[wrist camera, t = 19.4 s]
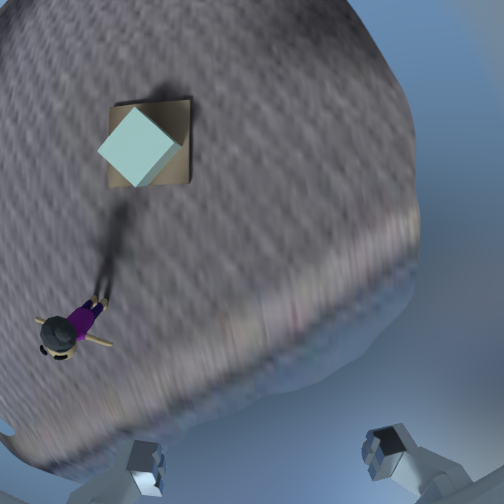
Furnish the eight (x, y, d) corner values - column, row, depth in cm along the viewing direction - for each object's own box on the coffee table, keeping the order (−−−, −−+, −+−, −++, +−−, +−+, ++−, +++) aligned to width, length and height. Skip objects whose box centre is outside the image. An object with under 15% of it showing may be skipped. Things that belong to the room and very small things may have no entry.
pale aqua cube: (147, 185, 34) (135, 187, 30) (113, 153, 33) (97, 151, 28) (182, 146, 34) (174, 142, 29) (146, 115, 32) (134, 106, 27)
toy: (68, 301, 38) (12, 354, 24) (69, 265, 37) (6, 308, 22) (134, 320, 39) (95, 387, 25) (138, 284, 38) (94, 341, 24)
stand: (111, 187, 35) (95, 189, 30) (112, 108, 33) (97, 101, 28) (189, 183, 36) (183, 184, 31) (190, 101, 33) (185, 91, 28)
